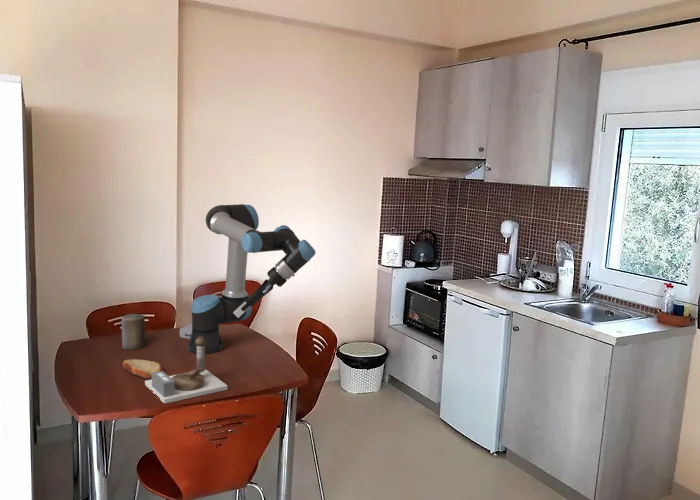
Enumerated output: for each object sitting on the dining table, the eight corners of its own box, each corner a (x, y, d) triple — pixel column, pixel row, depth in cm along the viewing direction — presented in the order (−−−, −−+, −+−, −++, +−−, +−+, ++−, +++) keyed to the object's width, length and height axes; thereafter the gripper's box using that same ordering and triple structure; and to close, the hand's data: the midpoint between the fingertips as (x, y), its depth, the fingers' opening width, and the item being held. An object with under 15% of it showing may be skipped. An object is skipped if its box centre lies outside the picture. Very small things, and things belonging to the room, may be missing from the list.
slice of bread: (124, 363, 247) (124, 354, 246) (169, 363, 248) (169, 355, 248) (110, 379, 229) (110, 370, 229) (159, 380, 231) (158, 371, 230)
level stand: (145, 384, 225) (144, 367, 224) (205, 372, 239) (205, 356, 238) (164, 403, 209) (164, 385, 208) (227, 389, 224) (227, 372, 222)
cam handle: (193, 392, 215) (193, 350, 213) (164, 387, 219) (163, 346, 216) (217, 376, 231) (217, 337, 229) (189, 371, 235) (189, 333, 232)
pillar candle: (149, 346, 267) (149, 313, 265) (131, 351, 259) (130, 318, 257) (135, 341, 273) (134, 309, 270) (117, 347, 264) (116, 314, 262)
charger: (213, 331, 293) (196, 340, 279) (197, 329, 296) (179, 337, 282) (213, 322, 292) (196, 330, 278) (197, 319, 295) (179, 327, 281)
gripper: (287, 284, 222) (241, 326, 223) (287, 276, 235) (244, 317, 236) (273, 269, 221) (227, 312, 222) (274, 263, 233) (230, 303, 235)
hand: (235, 315), depth 229 cm, fingers closed
